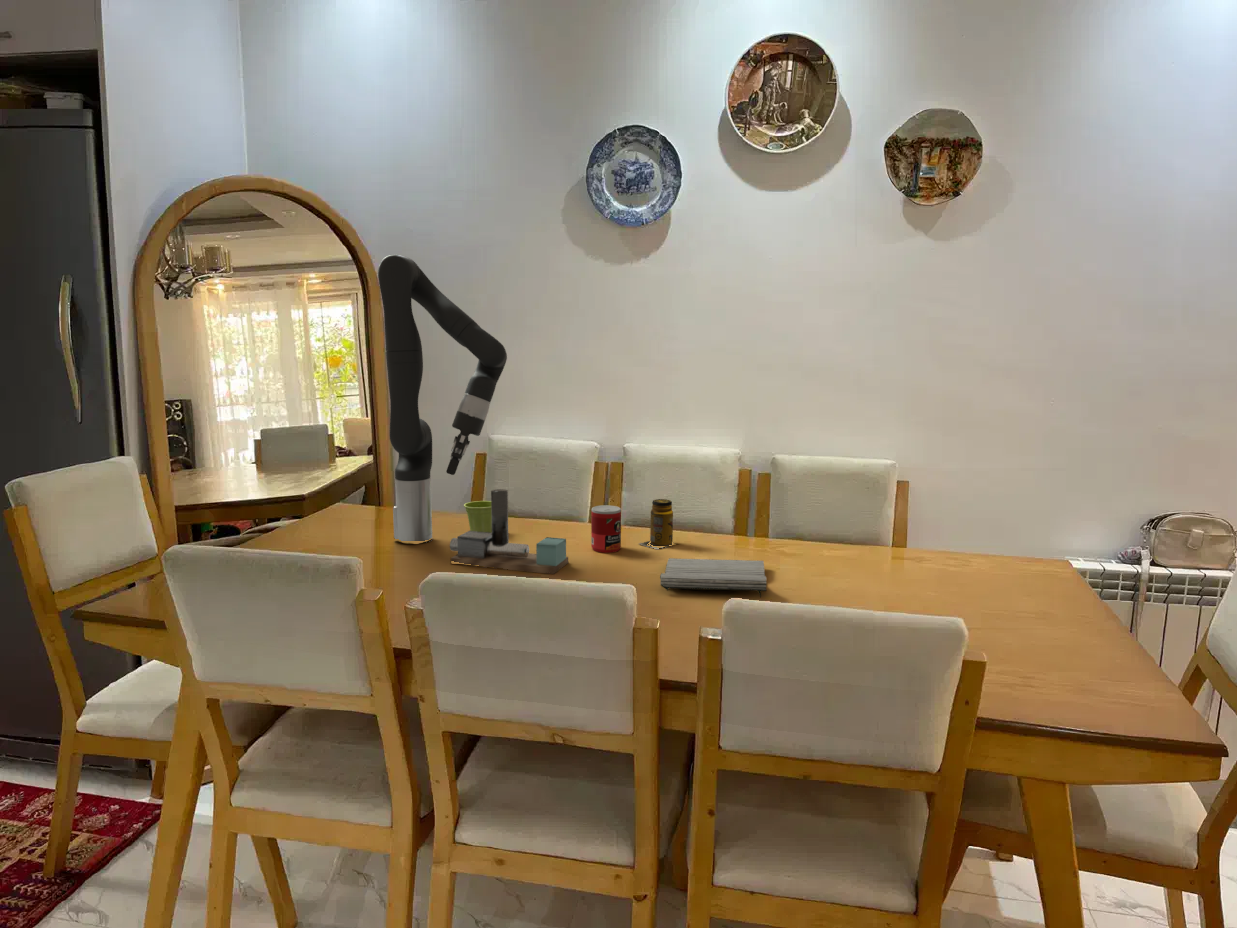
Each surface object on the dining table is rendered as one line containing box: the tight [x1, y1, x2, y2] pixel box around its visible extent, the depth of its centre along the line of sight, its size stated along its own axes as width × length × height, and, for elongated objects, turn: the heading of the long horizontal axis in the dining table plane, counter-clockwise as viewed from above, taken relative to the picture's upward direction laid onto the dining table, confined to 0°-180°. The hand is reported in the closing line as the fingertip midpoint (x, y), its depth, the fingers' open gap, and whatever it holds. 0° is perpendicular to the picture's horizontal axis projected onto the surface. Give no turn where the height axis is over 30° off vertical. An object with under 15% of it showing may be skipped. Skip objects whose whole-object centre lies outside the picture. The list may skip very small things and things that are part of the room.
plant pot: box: [463, 500, 492, 533], centre depth 230 cm, size 9×9×9 cm
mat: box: [659, 557, 767, 599], centre depth 189 cm, size 23×24×5 cm
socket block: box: [535, 536, 567, 566], centre depth 198 cm, size 5×7×5 cm
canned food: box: [590, 504, 622, 554], centre depth 215 cm, size 8×8×11 cm
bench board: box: [450, 552, 569, 575], centre depth 202 cm, size 27×10×2 cm, turn 73°
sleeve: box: [456, 530, 492, 559], centre depth 204 cm, size 7×6×5 cm
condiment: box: [638, 498, 674, 550], centre depth 220 cm, size 7×8×12 cm
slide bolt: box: [449, 488, 530, 558], centre depth 202 cm, size 20×4×16 cm, turn 73°
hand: (450, 473), depth 212 cm, fingers open, 8 cm apart
